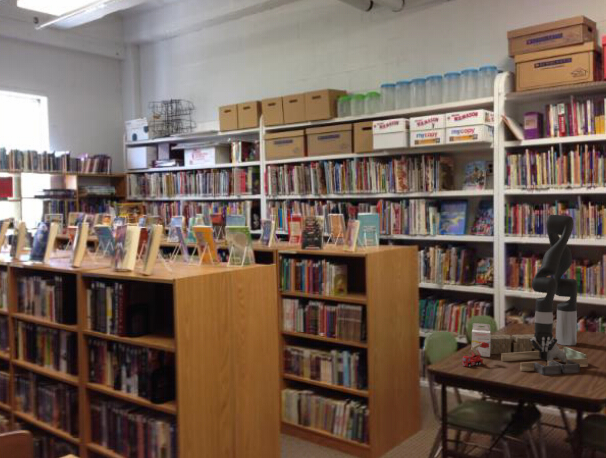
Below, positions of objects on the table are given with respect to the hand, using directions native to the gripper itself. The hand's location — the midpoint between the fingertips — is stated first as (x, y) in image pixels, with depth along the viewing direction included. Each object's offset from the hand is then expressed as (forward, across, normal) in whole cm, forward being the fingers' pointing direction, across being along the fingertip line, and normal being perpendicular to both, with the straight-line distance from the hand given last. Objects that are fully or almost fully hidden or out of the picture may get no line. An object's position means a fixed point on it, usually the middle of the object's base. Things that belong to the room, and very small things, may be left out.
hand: (542, 359), depth 265 cm
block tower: (+2, +2, -23) cm, 23 cm away
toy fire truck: (+3, +30, -6) cm, 30 cm away
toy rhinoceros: (+2, -7, -2) cm, 7 cm away
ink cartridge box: (+2, +20, -20) cm, 28 cm away
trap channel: (+2, -1, +3) cm, 4 cm away
